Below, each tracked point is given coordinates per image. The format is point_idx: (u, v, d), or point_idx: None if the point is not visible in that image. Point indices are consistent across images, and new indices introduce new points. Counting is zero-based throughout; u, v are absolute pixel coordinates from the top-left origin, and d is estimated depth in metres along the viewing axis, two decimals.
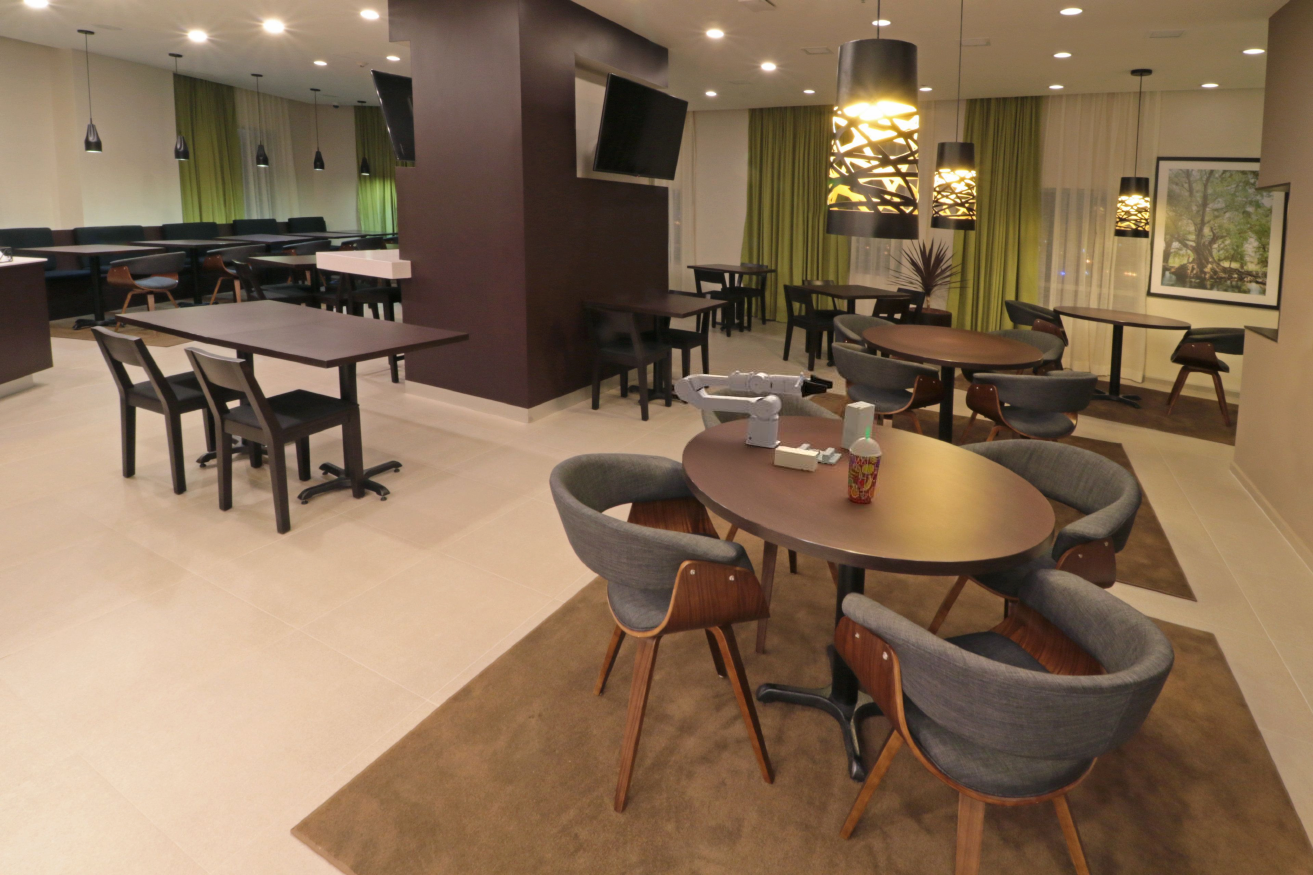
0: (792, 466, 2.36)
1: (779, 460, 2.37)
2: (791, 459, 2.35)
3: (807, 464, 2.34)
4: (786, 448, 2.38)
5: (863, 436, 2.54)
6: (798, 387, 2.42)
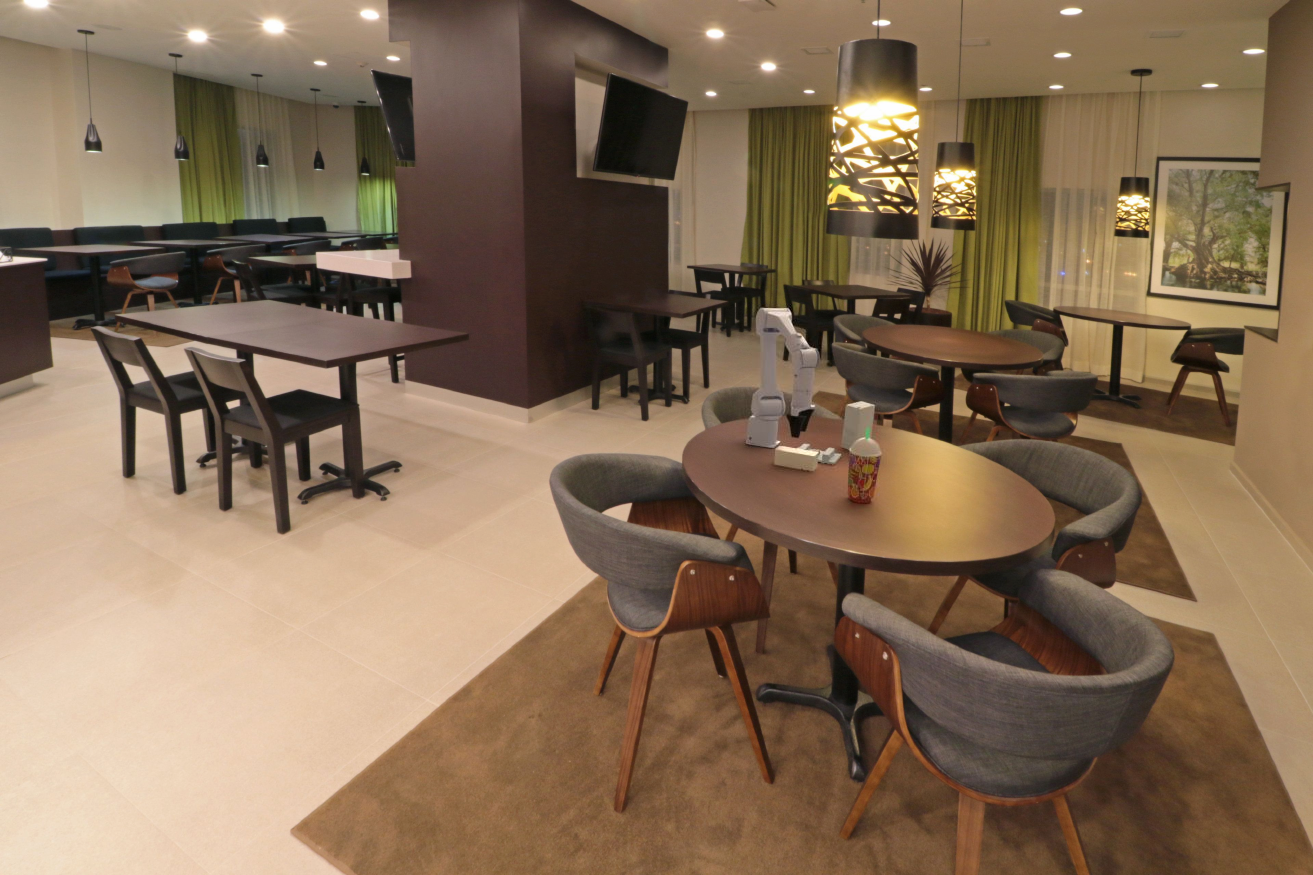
0: (792, 466, 2.36)
1: (779, 460, 2.37)
2: (791, 459, 2.35)
3: (807, 464, 2.34)
4: (786, 448, 2.38)
5: (863, 436, 2.54)
6: (796, 414, 2.26)
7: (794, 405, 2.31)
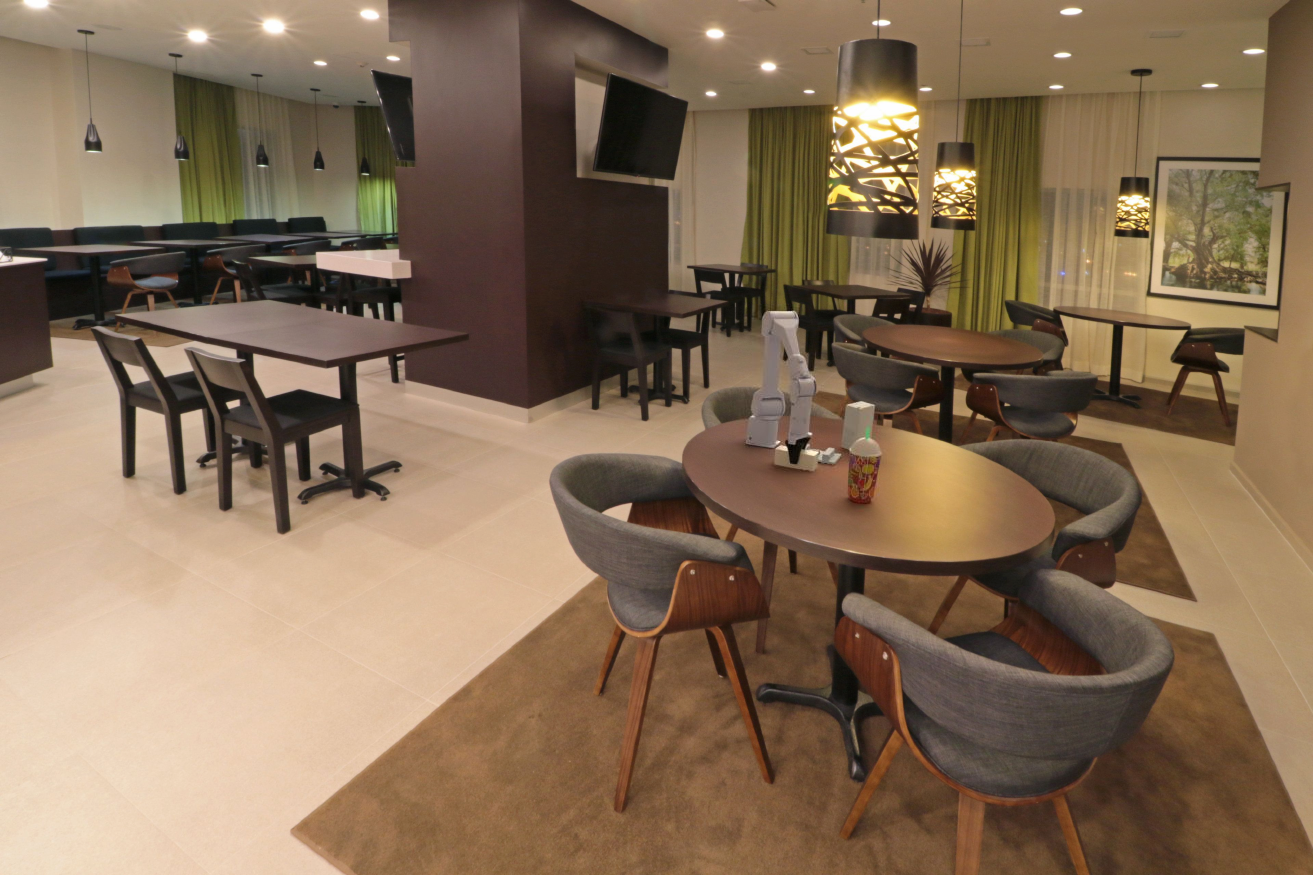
0: (792, 466, 2.36)
1: (779, 460, 2.37)
2: None
3: (807, 464, 2.34)
4: (786, 448, 2.38)
5: (863, 436, 2.54)
6: (793, 442, 2.29)
7: (791, 433, 2.33)
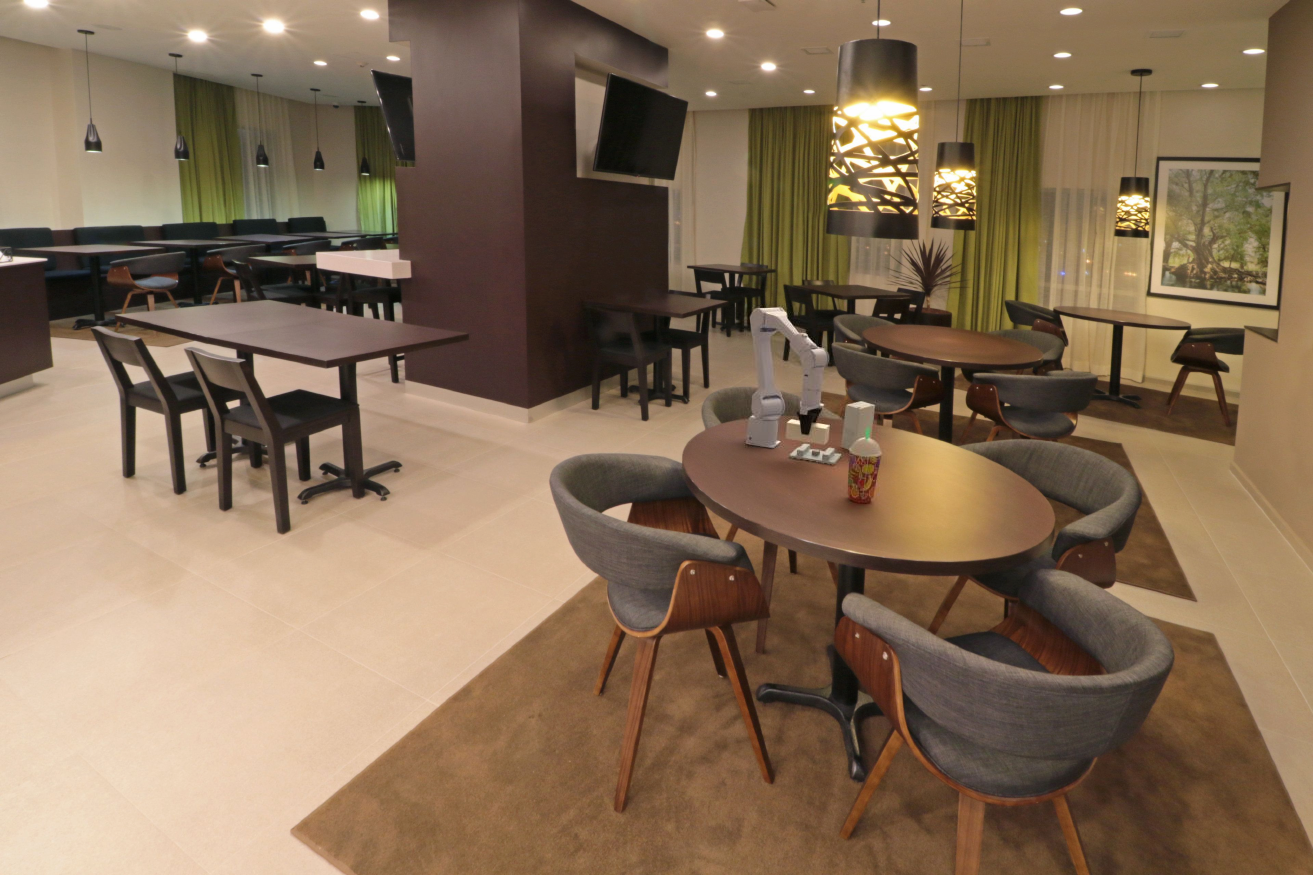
0: (803, 439, 2.38)
1: (790, 433, 2.39)
2: None
3: (819, 437, 2.36)
4: (797, 421, 2.41)
5: (863, 436, 2.54)
6: (805, 412, 2.31)
7: (803, 404, 2.35)
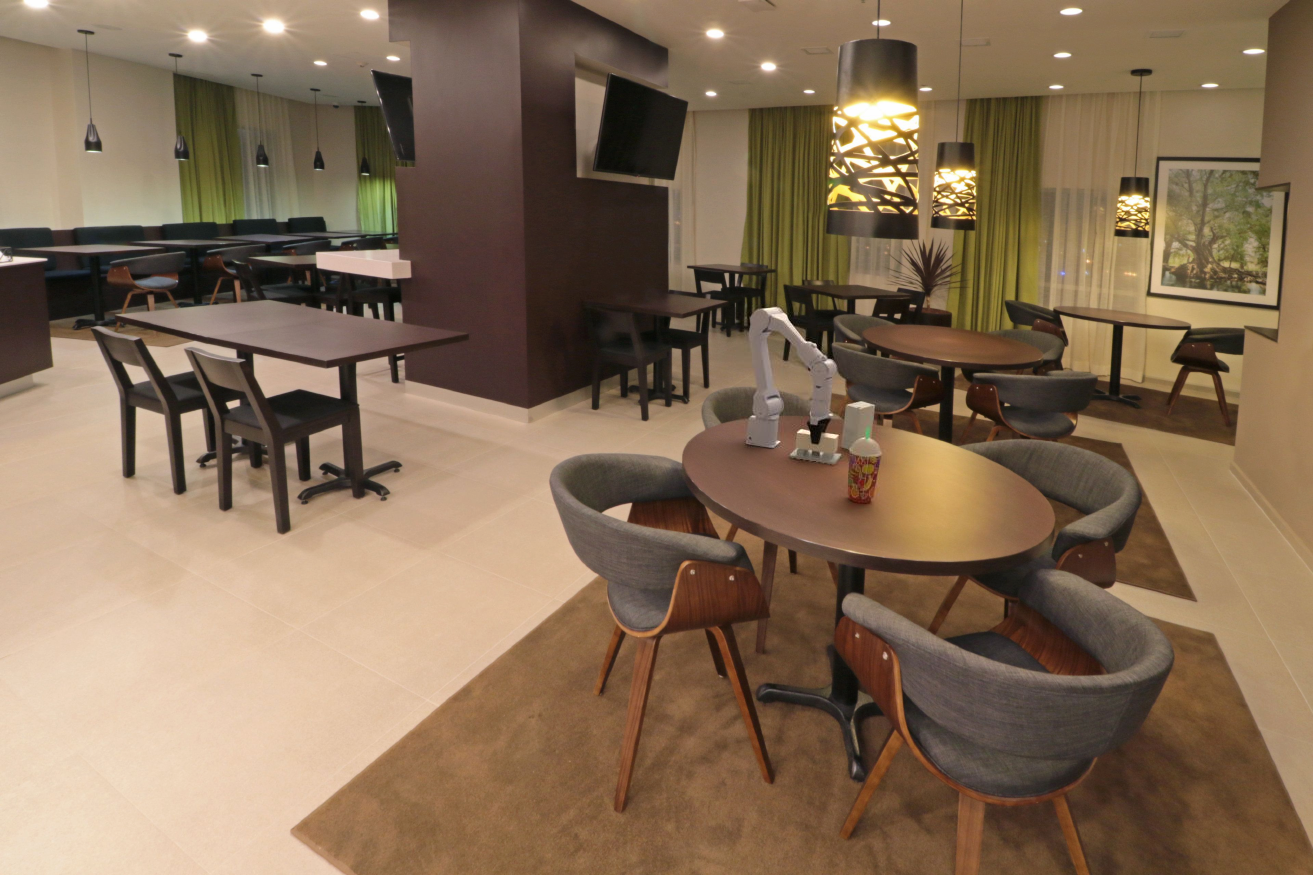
0: (813, 448, 2.44)
1: (800, 443, 2.46)
2: None
3: (828, 447, 2.42)
4: (807, 431, 2.47)
5: (863, 436, 2.54)
6: (815, 423, 2.37)
7: (813, 414, 2.41)
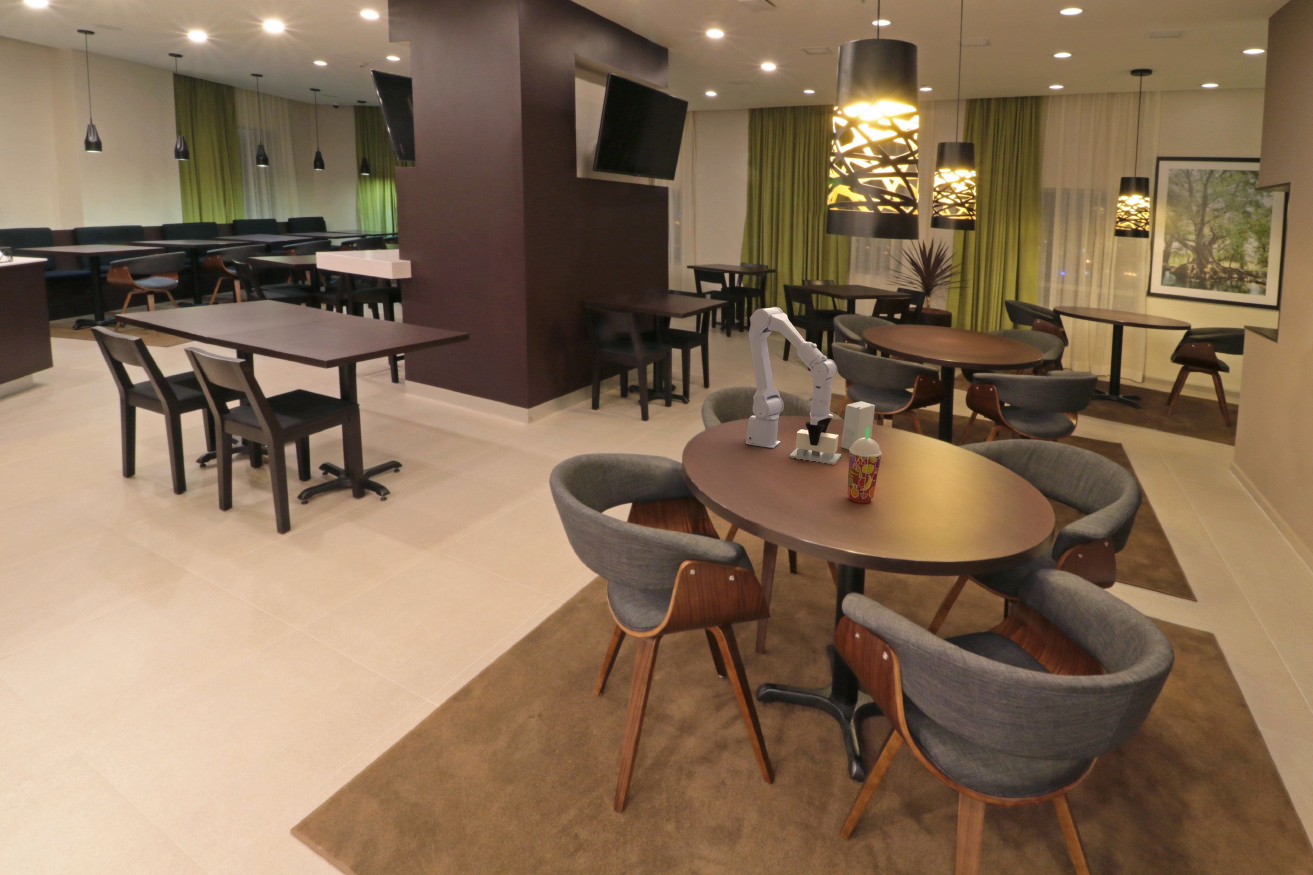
0: (813, 448, 2.44)
1: (800, 443, 2.46)
2: None
3: (828, 447, 2.42)
4: (807, 431, 2.47)
5: (863, 436, 2.54)
6: (815, 423, 2.37)
7: (813, 414, 2.41)
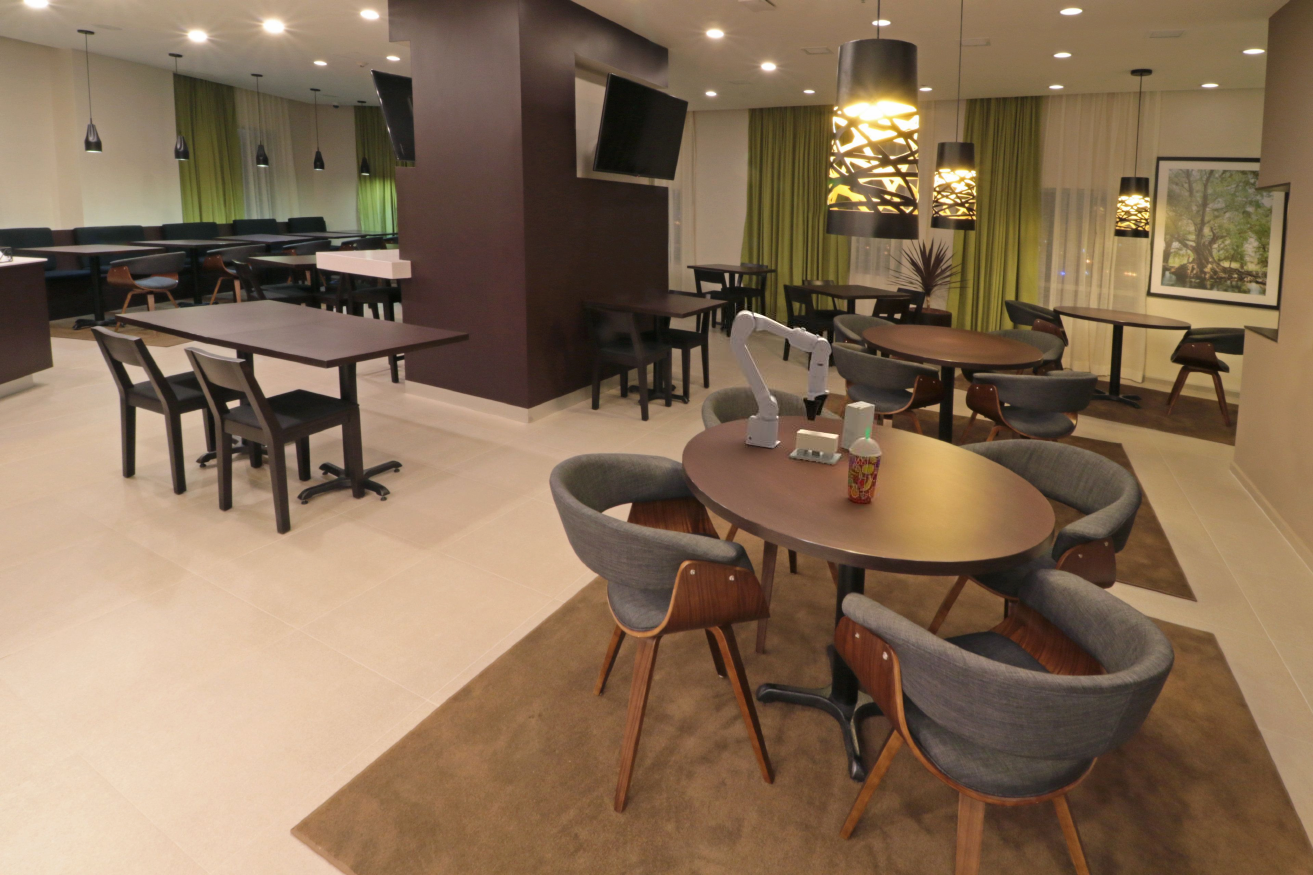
0: (813, 448, 2.44)
1: (800, 443, 2.46)
2: (812, 441, 2.44)
3: (828, 447, 2.42)
4: (807, 431, 2.47)
5: (863, 436, 2.54)
6: (812, 398, 2.46)
7: (810, 390, 2.50)
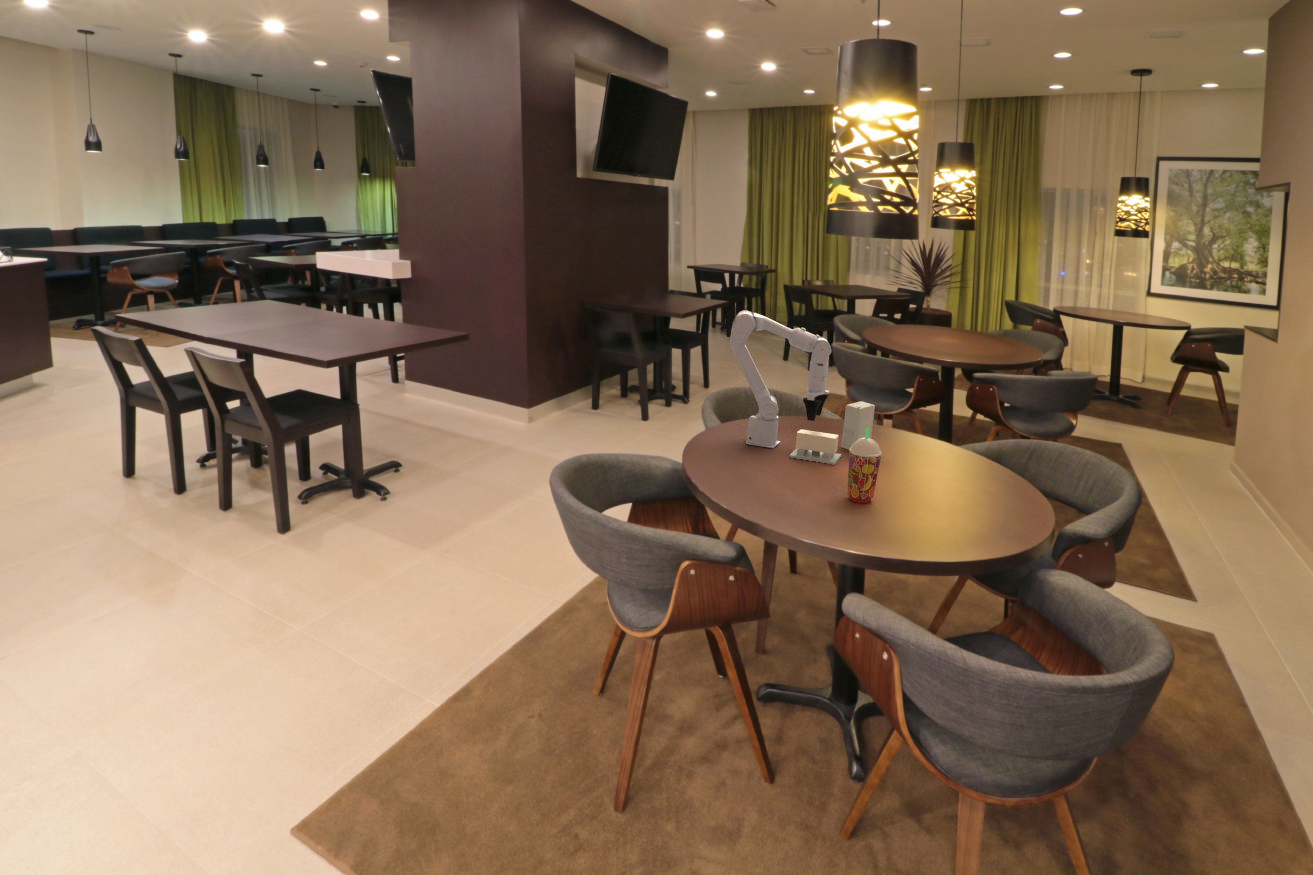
0: (813, 448, 2.44)
1: (800, 443, 2.46)
2: (812, 441, 2.44)
3: (828, 447, 2.42)
4: (807, 431, 2.47)
5: (863, 436, 2.54)
6: (812, 398, 2.46)
7: (810, 390, 2.50)
